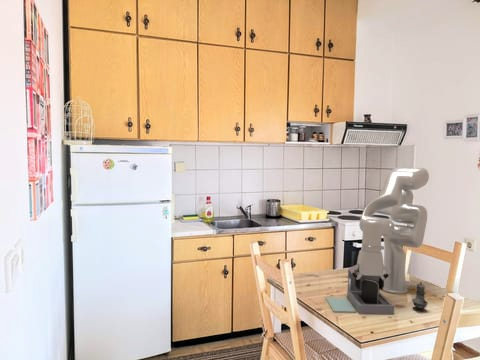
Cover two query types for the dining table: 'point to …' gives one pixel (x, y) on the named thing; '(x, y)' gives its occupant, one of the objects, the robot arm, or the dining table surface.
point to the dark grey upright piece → (420, 299)
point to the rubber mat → (340, 305)
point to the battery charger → (370, 291)
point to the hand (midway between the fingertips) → (369, 288)
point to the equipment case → (359, 304)
